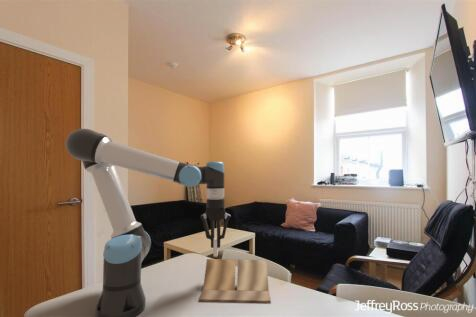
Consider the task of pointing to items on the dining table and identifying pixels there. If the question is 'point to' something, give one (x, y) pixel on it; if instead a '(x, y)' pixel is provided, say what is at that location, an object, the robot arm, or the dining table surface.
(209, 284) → the striped wooden square slab
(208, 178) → the robot arm
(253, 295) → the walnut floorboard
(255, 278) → the square wooden panel
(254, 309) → the dining table surface
